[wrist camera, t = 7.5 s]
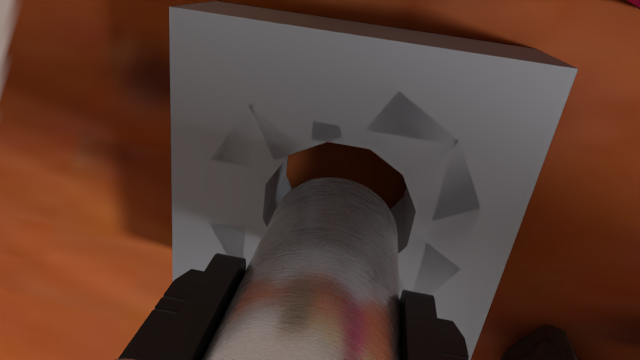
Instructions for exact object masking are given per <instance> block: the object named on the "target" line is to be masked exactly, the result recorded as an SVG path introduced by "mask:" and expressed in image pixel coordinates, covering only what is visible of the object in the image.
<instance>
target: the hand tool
mask: <svg viewBox="0 0 640 360" xmlns="http://www.w3.org/2000/svg"><path fill="white" fill-rule="evenodd" d="M501 360H579V359H578V358H577V356H576V354H575V351H574V349H573V347H572V345H571V343H570V342H569V340H568V339H567V338H566V333H565V331H564V330H561V329H558V328H555V327H552V326H548V325H544V326H542V327H540V328H539V329H538V330H536V331H535V332H533V333H532V334H530V335H528V336H525V337H524V338H522V339H521V340H519V341H518V342H517V343H515V344H514V345H513V346H512V347H511V348H510V349H509V350H508V351H507V352H506V353H505V354H504V355H503V357H502V358H501Z"/></svg>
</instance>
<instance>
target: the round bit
mask: <svg viewBox="0 0 640 360" xmlns="http://www.w3.org/2000/svg"><path fill="white" fill-rule="evenodd" d="M202 360H401V335H400V301H399V267H398V234H397V226H396V222H395V219H394V216H393V214H392V212H391V210H390V209H389V207H388V206H387V204H386V203H385V202H384V201H383V200H382V198H381V197H380V196H378V195H377V194H376V193H375V192H374V191H372V190H371V189H369V188H368V187H366V186H364V185H362V184H360V183H358V182H355V181H352V180H348V179H344V178H337V177H324V178H317V179H313V180H309V181H306V182H304V183H301V184H300V185H298V186H296V187H294V188H293V189H292V190H290V191H289V192H288V193H287V194H286V195H285V196H284V197H283V198H282V200H281V201H280V203H279V204H278V206H277V208H276V210H275V212H274V214H273V216H272V218H271V220H270V222H269V224H268V226H267V228H266V230H265V232H264V234H263V236H262V238H261V240H260V242H259V244H258V246H257V248H256V250H255V253H254V255H253V257H252V259H251V261H250V263H249V265H248V267H247V269H246V271H245V273H244V275H243V277H242V279H241V281H240V283H239V285H238V287H237V289H236V291H235V293H234V295H233V297H232V299H231V301H230V303H229V305H228V307H227V309H226V311H225V313H224V315H223V317H222V319H221V321H220V323H219V326H218V328H217V330H216V332H215V334H214V336H213V338H212V340H211V342H210V344H209V346H208V348H207V350H206V352H205V354H204V356H203V358H202Z"/></svg>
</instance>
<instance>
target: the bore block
mask: <svg viewBox="0 0 640 360" xmlns="http://www.w3.org/2000/svg"><path fill="white" fill-rule="evenodd" d="M169 38H170V110H171V182H172V254H173V281H174V280H175V279H176V278H178V277H180V276H181V275H183V274H184V273H186V272H187V271H189V270H190V269H195V270H200V271H205V269H206V268H207V266H208V264H209V263H210V261H211V260H212V258H213V257H214V255H215V254H216V253H220V254H225V255H230V256H235V257H240V258H245V259H246V269H247V267H248V265H249V263H250V261H251V259H252V257H253V255H254V253H255V250H256V248H257V246H258V244H259V242H260V240H261V238H262V236H263V234H264V232H265V230H266V228H267V226H268V224H269V222H270V220H271V218H272V216H273V214H274V212H275V210H276V208H277V206H278V204H279V203H280V201H281V200H282V198H283V197H284V196H285V195H286V194H287V193H288V192H289V191H290V190H292V186H291V184H290V182H289V180H288V178H287V176H286V171H287V161H288V156H289V155H291V154H294V153H297V152H300V151H302V150H305V149H308V148H311V147H314V146H317V145H320V144H322V143H325V142H331V143H337V144H343V145H349V146H355V147H360V148H366V149H370V150H372V151H373V152H374V153H375V154H377V155H378V156H379V157H380V158H382V159H383V160H384V161H385V162H387V163H388V164H389V165H391V166H392V167H393V168H394V169H396V170H397V171H398V172H399V173H401V174H402V175H403V177H404V180H405V183H406V185H407V186H406V190H405V194H404V196H403V197H402V198H401V199H400V200H399V201H398V202H397V203H396V204H395V205H394V206H393V207H392V208H391V209H390V210H391V212H392V214H393V216H394V219H395V222H396V226H397V234H398V267H399V300H400V296H401V293H402V291H403V290H408V291H414V292H419V293H424V294H429V295H433V296H434V298H435V305H436V312H437V318H441V319H446V320H451V321H453V322H454V323H455V325H456V326H457V328H458V329H459V330H460V332H461V333H462V335H463V336H464V338H465V341H466V346H467V350H468V355H469V360H471V357H472V355H473V352H474V349H475V346H476V344H477V341H478V338H479V336H480V333H481V330H482V328H483V325H484V322H485V319H486V317H487V314H488V311H489V309H490V306H491V303H492V300H493V298H494V295H495V292H496V290H497V287H498V284H499V282H500V279H501V276H502V273H503V271H504V268H505V265H506V263H507V260H508V257H509V255H510V252H511V249H512V246H513V244H514V241H515V238H516V236H517V233H518V230H519V227H520V225H521V222H522V219H523V217H524V214H525V211H526V209H527V206H528V203H529V200H530V198H531V195H532V192H533V190H534V187H535V184H536V181H537V179H538V176H539V173H540V171H541V168H542V165H543V163H544V160H545V157H546V154H547V152H548V149H549V146H550V144H551V141H552V138H553V136H554V133H555V130H556V127H557V125H558V122H559V119H560V117H561V114H562V111H563V108H564V106H565V103H566V100H567V98H568V95H569V92H570V90H571V87H572V84H573V81H574V79H575V76H576V73H577V71H578V69H577V68H575V67H573V66H571V65H569V64H567V63H565V62H563V61H561V60H558V59H556V58H554V57H552V56H550V55H548V54H546V53H544V52H542V51H540V50H538V49H534V48H527V47H521V46H514V45H507V44H501V43H494V42H487V41H481V40H474V39H467V38H461V37H454V36H447V35H441V34H434V33H427V32H421V31H414V30H407V29H401V28H394V27H387V26H381V25H374V24H367V23H361V22H354V21H347V20H341V19H334V18H327V17H321V16H314V15H308V14H301V13H294V12H288V11H281V10H274V9H268V8H261V7H254V6H248V5H241V4H234V3H228V2H221V1H210V2H202V3H194V4H186V5H178V6H170V7H169Z"/></svg>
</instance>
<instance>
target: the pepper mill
mask: <svg viewBox="0 0 640 360" xmlns="http://www.w3.org/2000/svg"><path fill="white" fill-rule="evenodd" d="M627 1H629V2H630V3H632V4H633V5H635V6H637V7H639V8H640V0H627Z"/></svg>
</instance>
